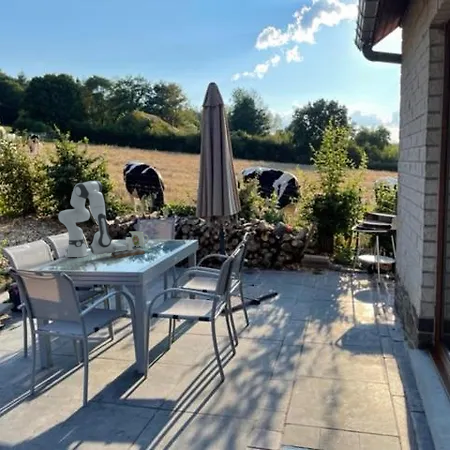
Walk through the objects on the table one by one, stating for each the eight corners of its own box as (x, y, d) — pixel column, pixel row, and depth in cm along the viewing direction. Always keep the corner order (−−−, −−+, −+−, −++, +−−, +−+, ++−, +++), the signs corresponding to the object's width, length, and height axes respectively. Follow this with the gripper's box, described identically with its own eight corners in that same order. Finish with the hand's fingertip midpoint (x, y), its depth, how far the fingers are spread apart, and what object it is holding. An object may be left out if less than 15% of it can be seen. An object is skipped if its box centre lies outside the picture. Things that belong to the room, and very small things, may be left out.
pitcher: (146, 247, 417) (145, 232, 415) (127, 247, 420) (126, 232, 419) (150, 245, 427) (150, 230, 426) (132, 245, 431) (131, 230, 429)
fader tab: (128, 252, 380) (127, 238, 379) (125, 252, 385) (124, 237, 384) (133, 252, 383) (132, 237, 381) (130, 251, 387) (129, 237, 386)
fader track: (115, 257, 372) (115, 253, 372) (111, 256, 381) (110, 251, 380) (144, 253, 386) (144, 249, 386) (139, 252, 394) (139, 247, 394)
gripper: (115, 244, 366) (132, 242, 373) (106, 242, 383) (122, 240, 390) (115, 252, 366) (132, 250, 374) (106, 249, 384) (123, 247, 391)
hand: (127, 245), depth 382 cm, fingers closed, pressing on fader tab
